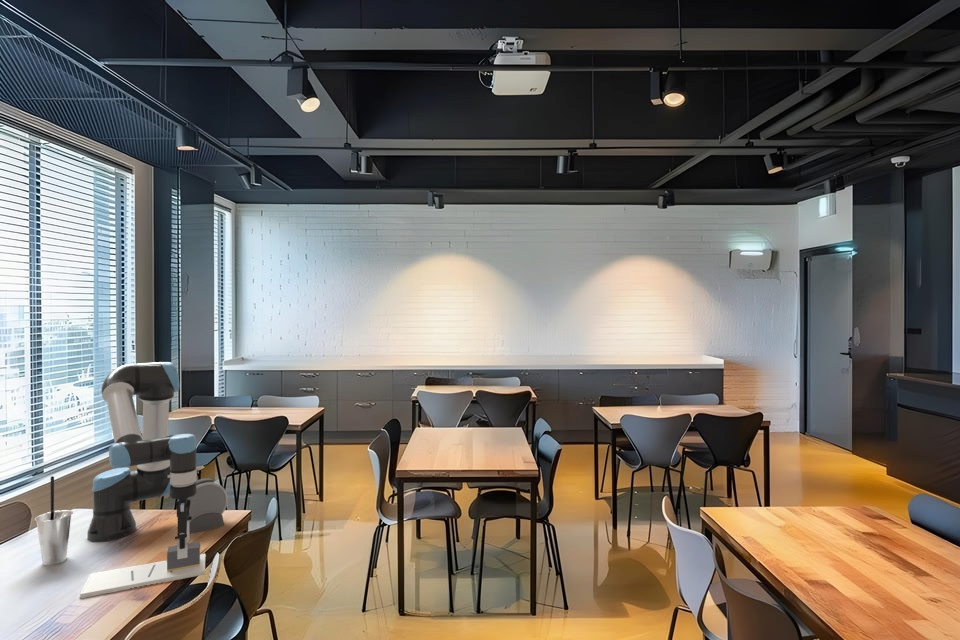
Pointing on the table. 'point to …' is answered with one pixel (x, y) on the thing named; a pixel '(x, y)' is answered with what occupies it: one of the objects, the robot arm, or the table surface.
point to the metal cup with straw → (53, 533)
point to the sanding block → (183, 563)
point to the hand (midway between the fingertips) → (183, 549)
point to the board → (137, 577)
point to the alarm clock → (207, 506)
